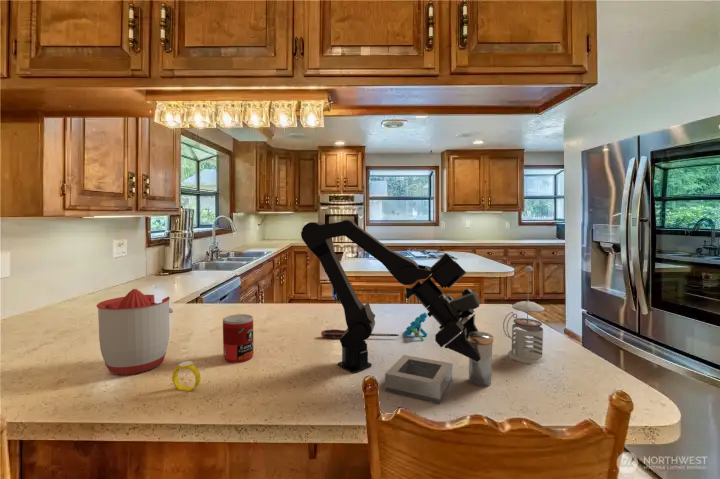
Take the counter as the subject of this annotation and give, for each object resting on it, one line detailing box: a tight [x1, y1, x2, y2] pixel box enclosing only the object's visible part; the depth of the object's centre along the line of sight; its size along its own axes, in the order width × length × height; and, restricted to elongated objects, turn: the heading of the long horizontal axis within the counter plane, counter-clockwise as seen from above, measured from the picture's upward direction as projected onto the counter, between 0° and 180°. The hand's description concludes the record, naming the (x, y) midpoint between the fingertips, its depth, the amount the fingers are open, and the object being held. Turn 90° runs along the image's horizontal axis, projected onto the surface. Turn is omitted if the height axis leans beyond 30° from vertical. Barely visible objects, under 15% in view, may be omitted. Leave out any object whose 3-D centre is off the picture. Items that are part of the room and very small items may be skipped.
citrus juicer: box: [96, 288, 174, 376], centre depth 91 cm, size 16×17×20 cm
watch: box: [171, 360, 201, 392], centre depth 78 cm, size 6×3×6 cm, turn 80°
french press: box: [502, 265, 547, 365], centre depth 97 cm, size 10×12×25 cm
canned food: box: [222, 313, 254, 364], centre depth 96 cm, size 8×8×11 cm
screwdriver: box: [320, 328, 400, 339], centre depth 112 cm, size 25×3×3 cm, turn 87°
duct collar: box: [384, 354, 453, 405], centre depth 80 cm, size 12×12×4 cm
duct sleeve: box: [468, 331, 494, 388], centre depth 82 cm, size 5×5×11 cm
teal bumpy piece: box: [403, 312, 429, 341], centre depth 114 cm, size 11×6×10 cm
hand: (481, 353), depth 82 cm, fingers open, 9 cm apart
